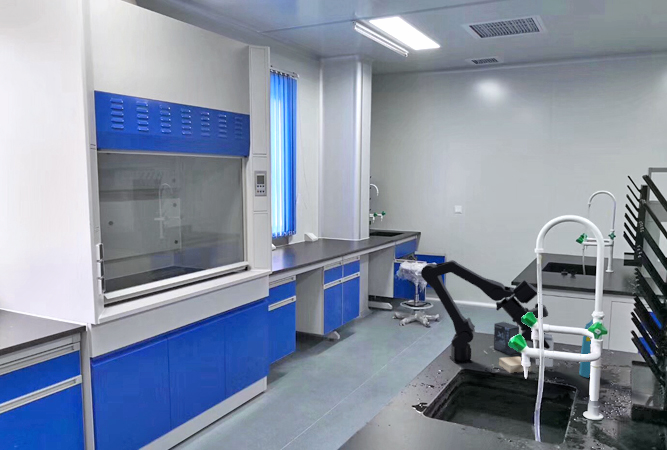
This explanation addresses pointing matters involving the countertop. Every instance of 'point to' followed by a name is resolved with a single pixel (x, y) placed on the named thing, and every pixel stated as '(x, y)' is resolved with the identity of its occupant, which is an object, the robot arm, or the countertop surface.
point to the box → (504, 336)
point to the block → (512, 364)
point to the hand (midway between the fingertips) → (549, 345)
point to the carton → (550, 342)
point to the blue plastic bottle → (585, 350)
